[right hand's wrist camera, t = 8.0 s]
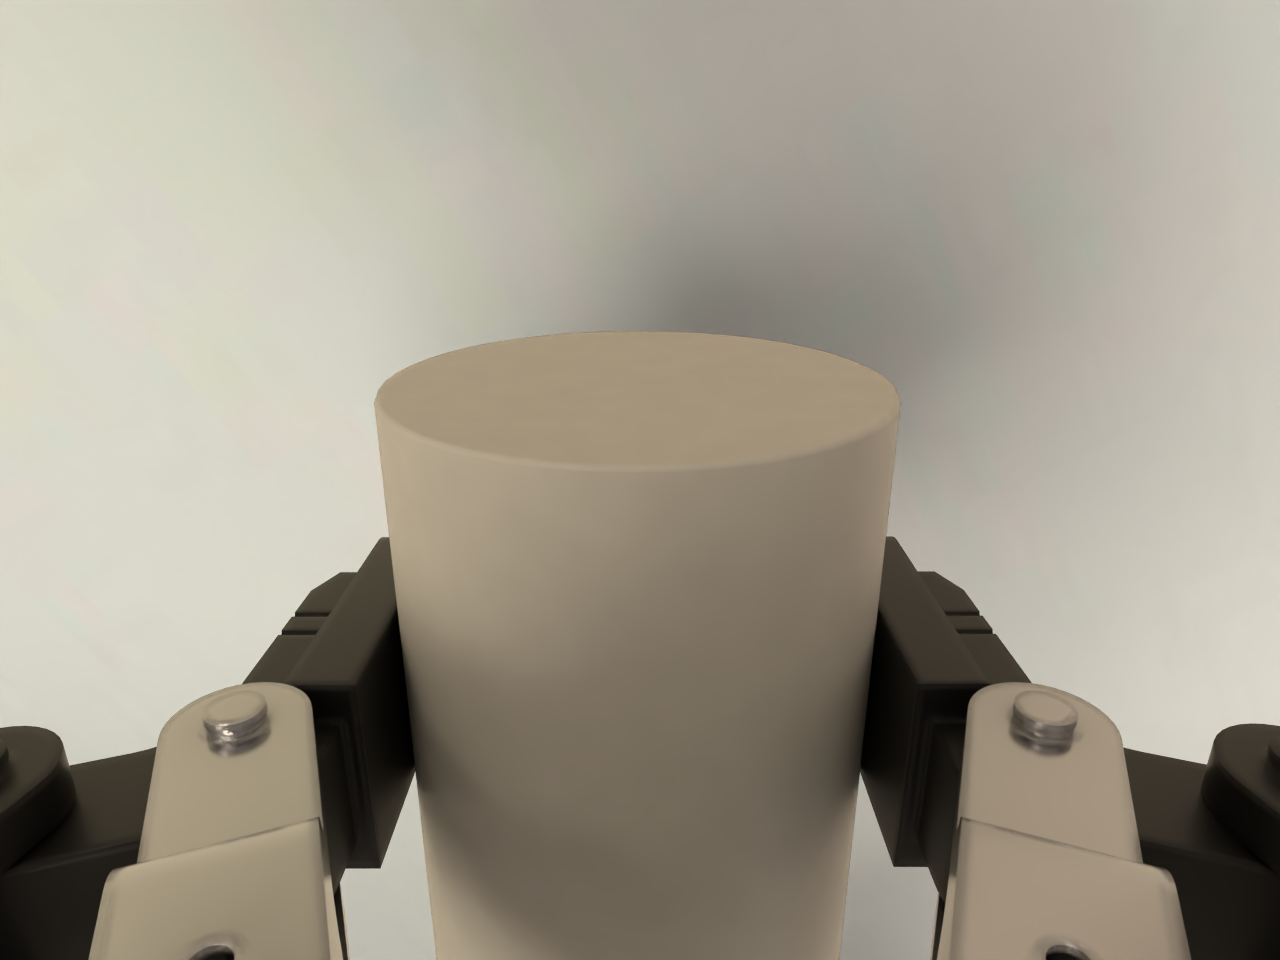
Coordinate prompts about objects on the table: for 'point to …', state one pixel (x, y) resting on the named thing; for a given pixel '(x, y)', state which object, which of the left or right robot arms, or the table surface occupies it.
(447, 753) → the rod
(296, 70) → the table surface
